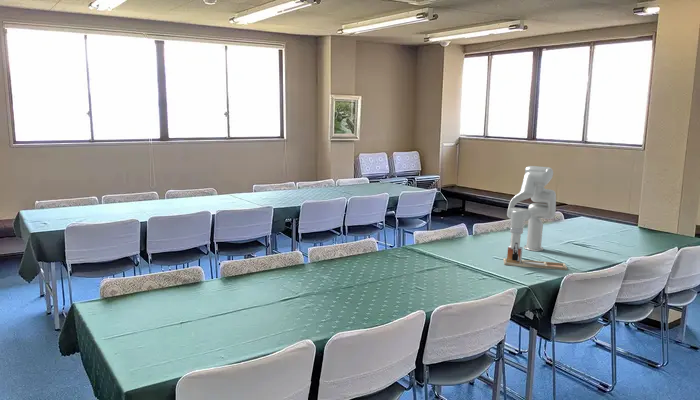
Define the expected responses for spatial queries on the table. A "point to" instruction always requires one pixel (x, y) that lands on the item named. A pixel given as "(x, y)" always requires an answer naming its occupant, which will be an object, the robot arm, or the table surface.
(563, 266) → the rail frame
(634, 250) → the table surface
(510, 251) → the small box
